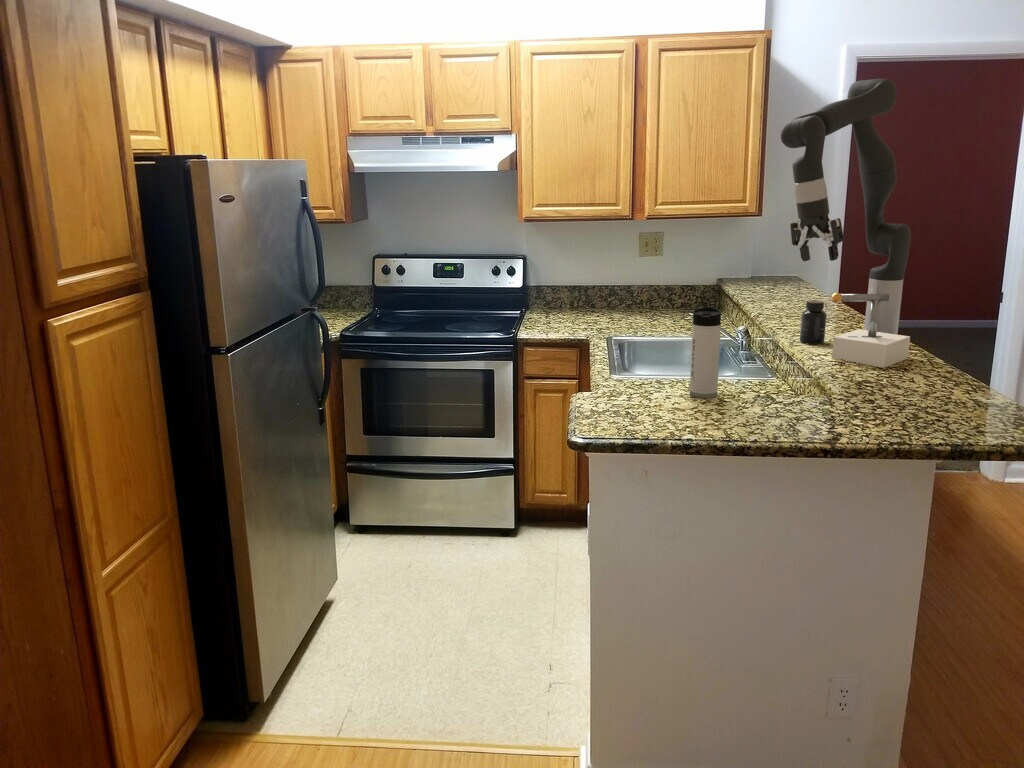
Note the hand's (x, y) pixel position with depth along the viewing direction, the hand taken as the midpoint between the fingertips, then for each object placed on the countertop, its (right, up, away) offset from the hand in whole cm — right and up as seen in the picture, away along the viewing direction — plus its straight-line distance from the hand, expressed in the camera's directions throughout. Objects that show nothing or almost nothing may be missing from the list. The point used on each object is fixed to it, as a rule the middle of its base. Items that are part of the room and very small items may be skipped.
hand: (819, 260), depth 208 cm
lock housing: (+16, -25, +6) cm, 31 cm away
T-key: (+11, -19, +5) cm, 23 cm away
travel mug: (-36, -35, -23) cm, 55 cm away
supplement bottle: (+8, -20, +27) cm, 34 cm away
